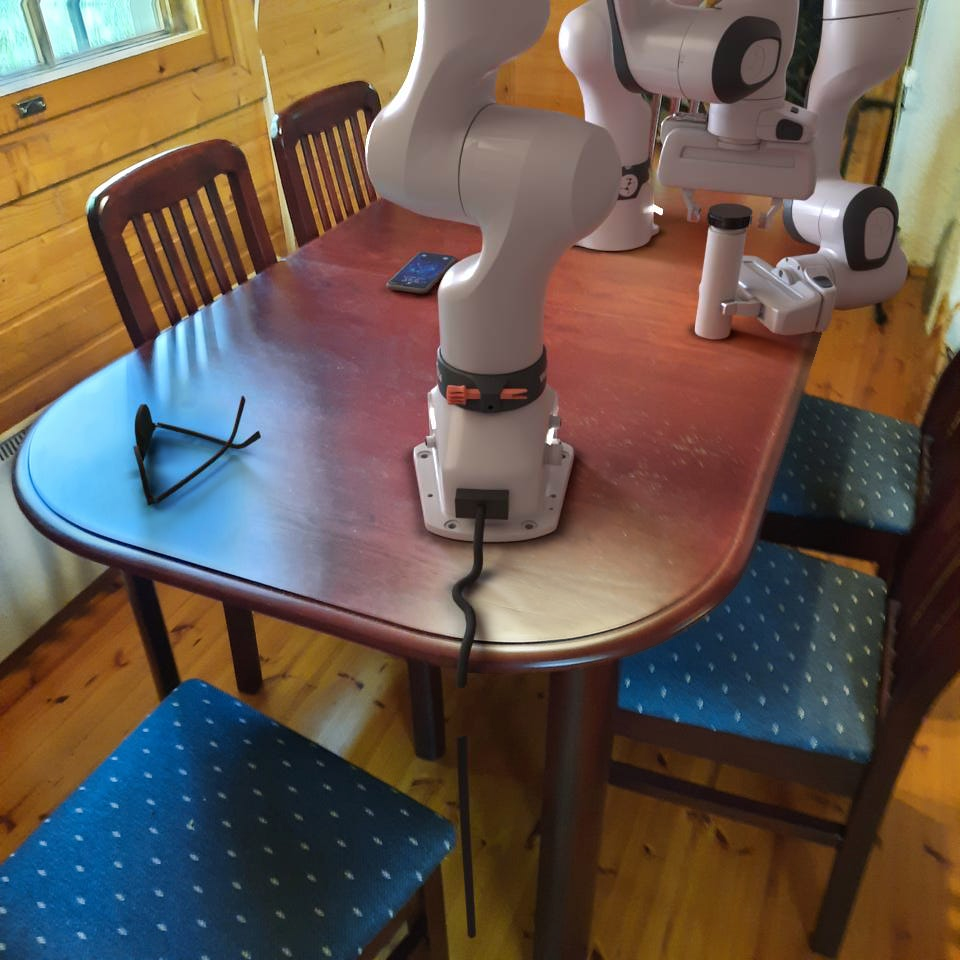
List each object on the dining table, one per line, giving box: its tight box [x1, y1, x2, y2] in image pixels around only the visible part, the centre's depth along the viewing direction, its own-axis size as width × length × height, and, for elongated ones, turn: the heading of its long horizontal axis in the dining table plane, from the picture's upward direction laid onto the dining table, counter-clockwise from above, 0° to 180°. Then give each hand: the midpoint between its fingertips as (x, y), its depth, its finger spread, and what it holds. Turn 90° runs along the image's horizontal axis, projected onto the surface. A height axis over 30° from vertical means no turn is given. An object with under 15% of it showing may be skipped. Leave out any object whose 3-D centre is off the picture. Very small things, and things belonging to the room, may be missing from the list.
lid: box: [706, 202, 754, 230], centre depth 115 cm, size 6×6×2 cm
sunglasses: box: [132, 395, 262, 506], centre depth 100 cm, size 17×14×5 cm
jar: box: [694, 225, 748, 340], centre depth 120 cm, size 5×5×17 cm
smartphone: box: [386, 251, 457, 295], centre depth 143 cm, size 7×1×15 cm
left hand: (728, 224), depth 116 cm, fingers open, 8 cm apart
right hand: (711, 299), depth 122 cm, fingers closed on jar, 5 cm apart
